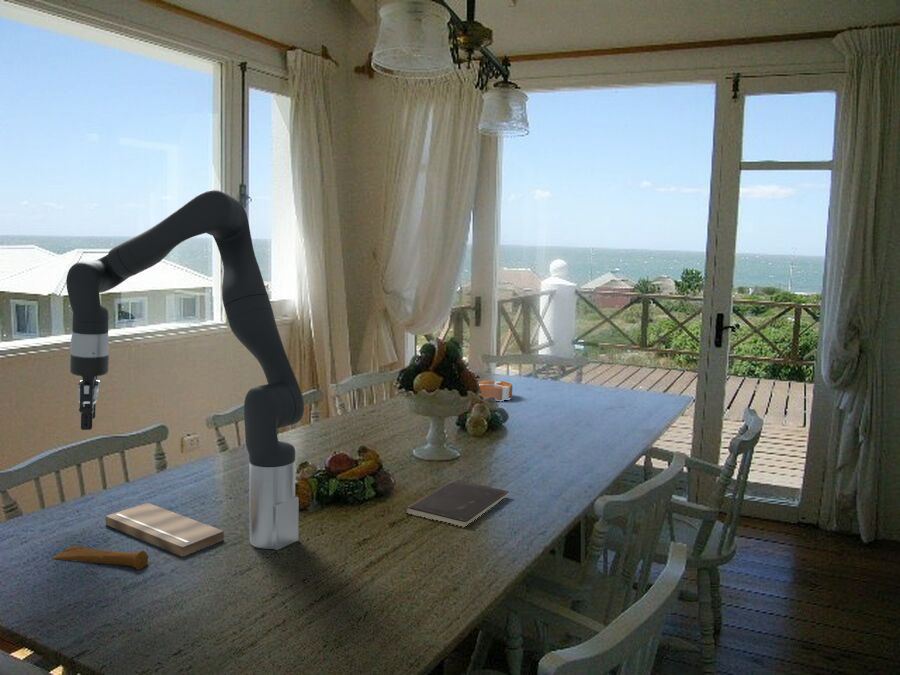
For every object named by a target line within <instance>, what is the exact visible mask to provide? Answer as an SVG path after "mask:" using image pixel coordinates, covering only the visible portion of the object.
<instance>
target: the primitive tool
mask: <svg viewBox="0 0 900 675" xmlns="http://www.w3.org/2000/svg"><path fill="white" fill-rule="evenodd" d="M147 553H148V552H147V551H145V550H140V551H139V552H134V551H133V552H127V551H125V552H122V551H113V550H103V549H97V548H95V549H94V548H90V547H88V548H87V547H85V546H83V545H81V546H78V545H76V546H75V545H73V546H72V545H71V546H68V547H67V548H66V549H64V551H62V552H60V553H58V554H56V555H54V556H53V557H52V559H53V560H58V561H69V560H76V561H75V562H82V561H85V562H84V563H93V562H97V563H96V564H103V563H105V564H106V565H119V566H127V567H133V568H135V569H136V570H137V571H139V570H141V568H142V569H143V568H145V567H146V566H147V564H148V562H149V555H148V554H147ZM105 564H104V565H105ZM138 569H139V570H138Z"/></svg>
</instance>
